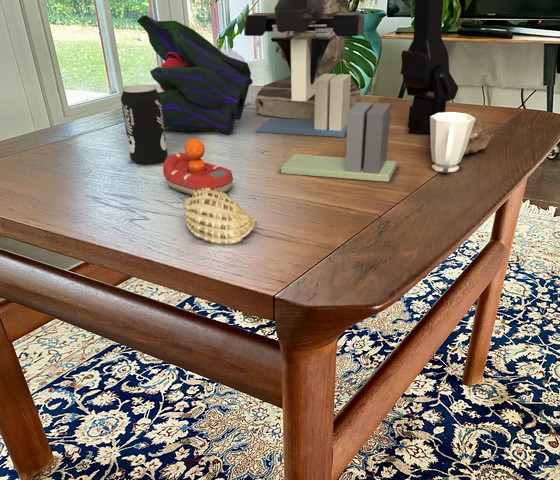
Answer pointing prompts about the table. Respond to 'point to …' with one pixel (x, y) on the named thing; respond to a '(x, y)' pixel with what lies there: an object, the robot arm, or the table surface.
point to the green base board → (354, 149)
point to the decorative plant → (196, 79)
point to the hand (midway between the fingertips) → (304, 83)
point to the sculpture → (278, 94)
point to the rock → (477, 138)
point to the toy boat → (195, 171)
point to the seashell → (217, 217)
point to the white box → (301, 68)
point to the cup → (449, 139)
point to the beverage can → (144, 124)
